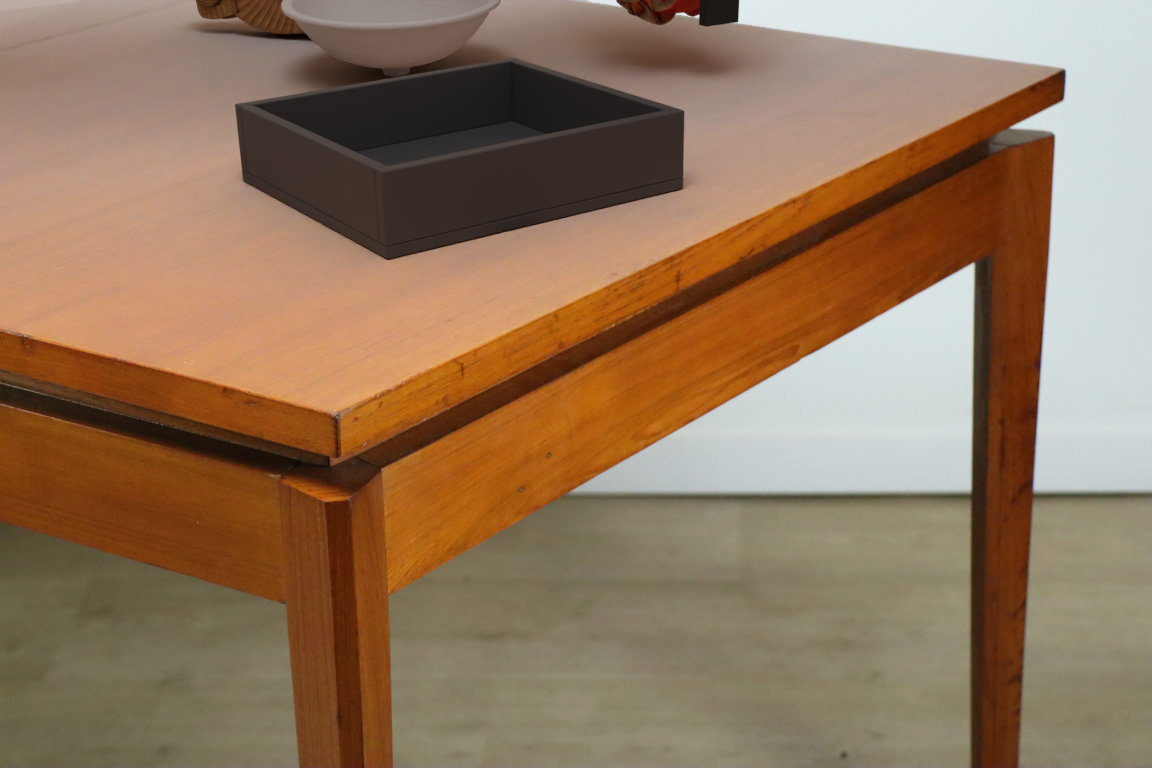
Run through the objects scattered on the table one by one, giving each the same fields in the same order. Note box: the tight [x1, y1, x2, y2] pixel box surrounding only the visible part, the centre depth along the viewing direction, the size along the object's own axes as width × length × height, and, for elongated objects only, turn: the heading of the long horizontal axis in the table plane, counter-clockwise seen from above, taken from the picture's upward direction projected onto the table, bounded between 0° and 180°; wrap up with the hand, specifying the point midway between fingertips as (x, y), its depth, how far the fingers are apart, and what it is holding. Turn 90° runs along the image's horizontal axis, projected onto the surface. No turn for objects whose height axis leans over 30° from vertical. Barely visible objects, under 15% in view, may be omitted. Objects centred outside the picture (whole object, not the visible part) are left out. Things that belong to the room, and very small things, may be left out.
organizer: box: [234, 57, 685, 260], centre depth 78 cm, size 15×17×4 cm
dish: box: [281, 0, 502, 77], centre depth 101 cm, size 18×14×5 cm
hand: (662, 10), depth 102 cm, fingers closed on dragon fruit, 11 cm apart
